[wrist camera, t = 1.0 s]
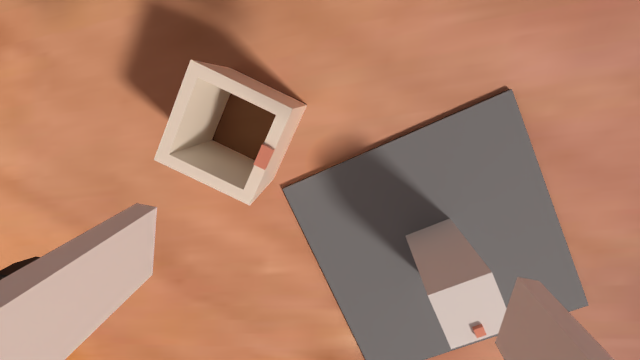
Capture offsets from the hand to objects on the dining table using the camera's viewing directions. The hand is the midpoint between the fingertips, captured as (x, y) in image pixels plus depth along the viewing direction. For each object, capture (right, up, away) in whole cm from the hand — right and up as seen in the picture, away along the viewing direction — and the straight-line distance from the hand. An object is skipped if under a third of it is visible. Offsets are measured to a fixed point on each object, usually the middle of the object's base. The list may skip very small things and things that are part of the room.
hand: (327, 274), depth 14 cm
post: (+10, -2, +20) cm, 22 cm away
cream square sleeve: (-6, +8, +19) cm, 21 cm away
